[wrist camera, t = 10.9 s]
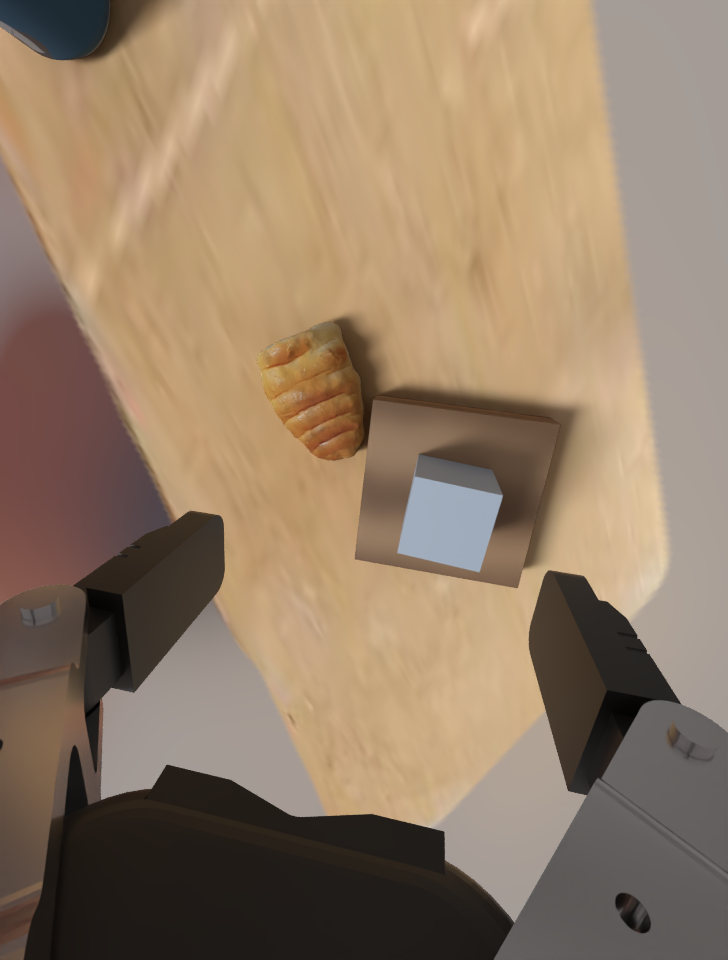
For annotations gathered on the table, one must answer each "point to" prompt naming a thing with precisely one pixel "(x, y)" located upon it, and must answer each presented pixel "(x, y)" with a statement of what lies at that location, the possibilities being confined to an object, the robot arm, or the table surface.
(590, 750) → the robot arm
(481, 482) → the blue cube
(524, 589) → the table surface
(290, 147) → the table surface
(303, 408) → the pastry
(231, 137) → the table surface
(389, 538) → the walnut base
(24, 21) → the soda can
